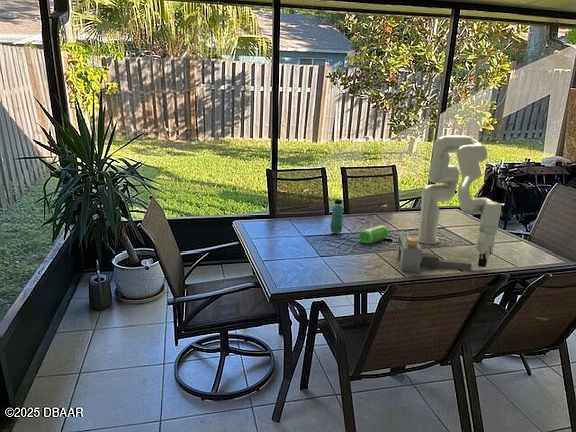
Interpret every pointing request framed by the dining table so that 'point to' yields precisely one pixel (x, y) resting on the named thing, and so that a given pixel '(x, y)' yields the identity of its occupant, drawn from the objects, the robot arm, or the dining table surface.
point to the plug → (443, 262)
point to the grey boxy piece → (409, 253)
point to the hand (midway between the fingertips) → (481, 266)
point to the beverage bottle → (337, 217)
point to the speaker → (373, 234)
